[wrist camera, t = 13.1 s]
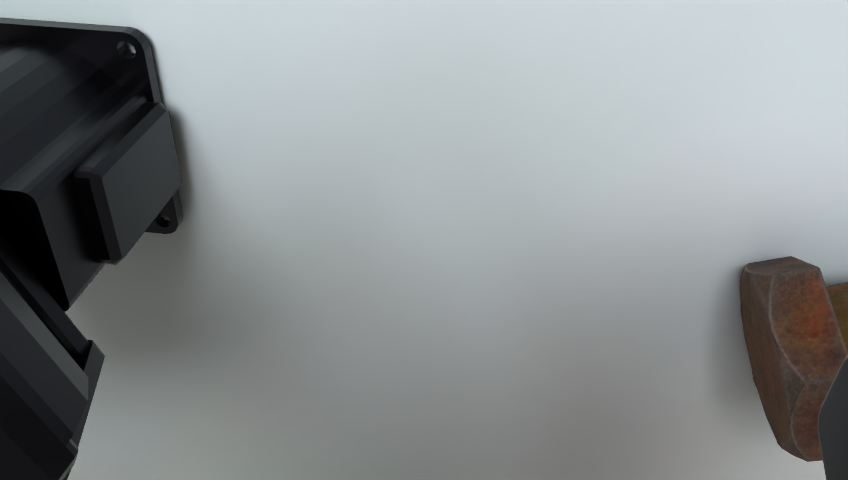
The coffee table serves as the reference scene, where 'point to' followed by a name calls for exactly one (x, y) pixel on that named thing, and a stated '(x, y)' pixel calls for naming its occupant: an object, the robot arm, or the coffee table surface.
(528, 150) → the coffee table surface
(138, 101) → the robot arm
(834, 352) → the bolt
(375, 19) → the coffee table surface
